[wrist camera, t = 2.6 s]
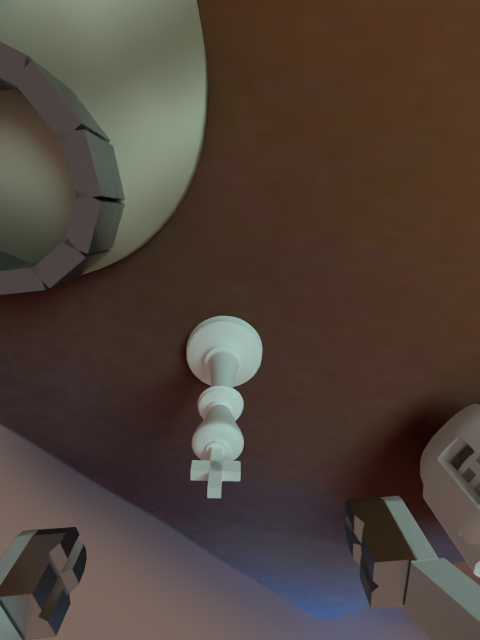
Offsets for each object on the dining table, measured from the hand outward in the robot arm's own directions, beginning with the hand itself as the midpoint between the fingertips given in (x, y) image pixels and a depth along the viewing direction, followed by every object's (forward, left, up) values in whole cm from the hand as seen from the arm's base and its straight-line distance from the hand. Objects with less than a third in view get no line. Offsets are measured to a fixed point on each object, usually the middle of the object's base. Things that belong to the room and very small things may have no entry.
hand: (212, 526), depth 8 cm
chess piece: (-1, 0, -11) cm, 11 cm away
